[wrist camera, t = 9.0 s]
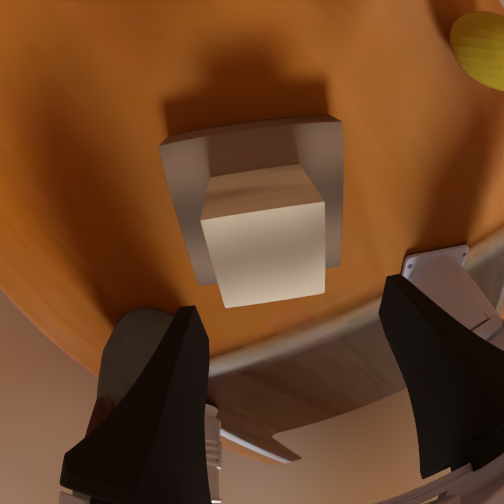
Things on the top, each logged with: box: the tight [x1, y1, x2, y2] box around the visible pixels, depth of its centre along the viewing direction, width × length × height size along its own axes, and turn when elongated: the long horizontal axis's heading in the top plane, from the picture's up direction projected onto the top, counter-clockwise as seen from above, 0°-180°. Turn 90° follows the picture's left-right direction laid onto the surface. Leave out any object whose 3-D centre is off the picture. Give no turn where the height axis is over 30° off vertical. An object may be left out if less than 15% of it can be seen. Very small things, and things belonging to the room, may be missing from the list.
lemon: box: [450, 11, 504, 91], centre depth 9 cm, size 6×6×8 cm
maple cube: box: [200, 164, 325, 308], centre depth 15 cm, size 5×5×5 cm
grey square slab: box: [159, 115, 343, 285], centre depth 18 cm, size 10×10×3 cm
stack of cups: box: [205, 404, 222, 503], centre depth 32 cm, size 7×7×15 cm
